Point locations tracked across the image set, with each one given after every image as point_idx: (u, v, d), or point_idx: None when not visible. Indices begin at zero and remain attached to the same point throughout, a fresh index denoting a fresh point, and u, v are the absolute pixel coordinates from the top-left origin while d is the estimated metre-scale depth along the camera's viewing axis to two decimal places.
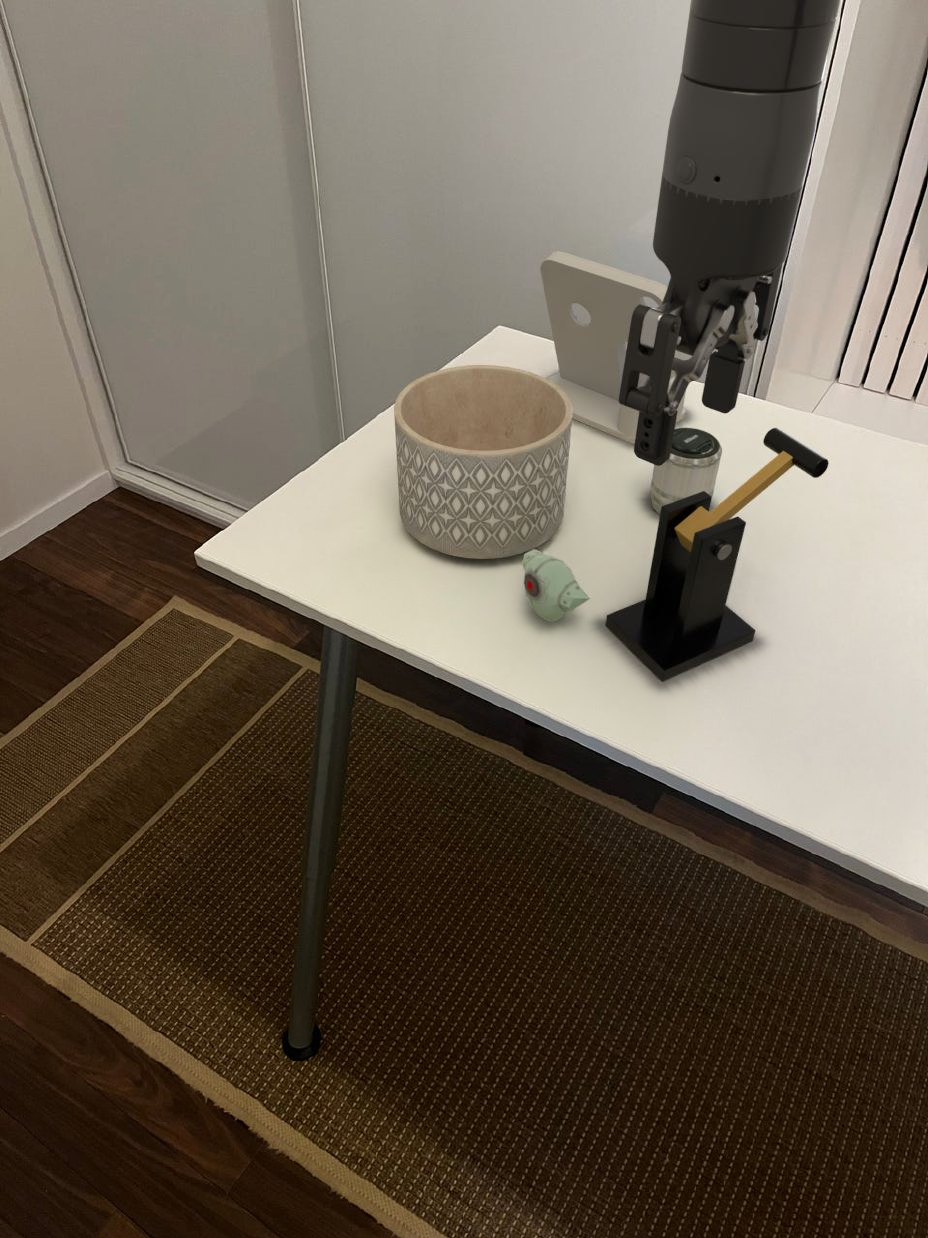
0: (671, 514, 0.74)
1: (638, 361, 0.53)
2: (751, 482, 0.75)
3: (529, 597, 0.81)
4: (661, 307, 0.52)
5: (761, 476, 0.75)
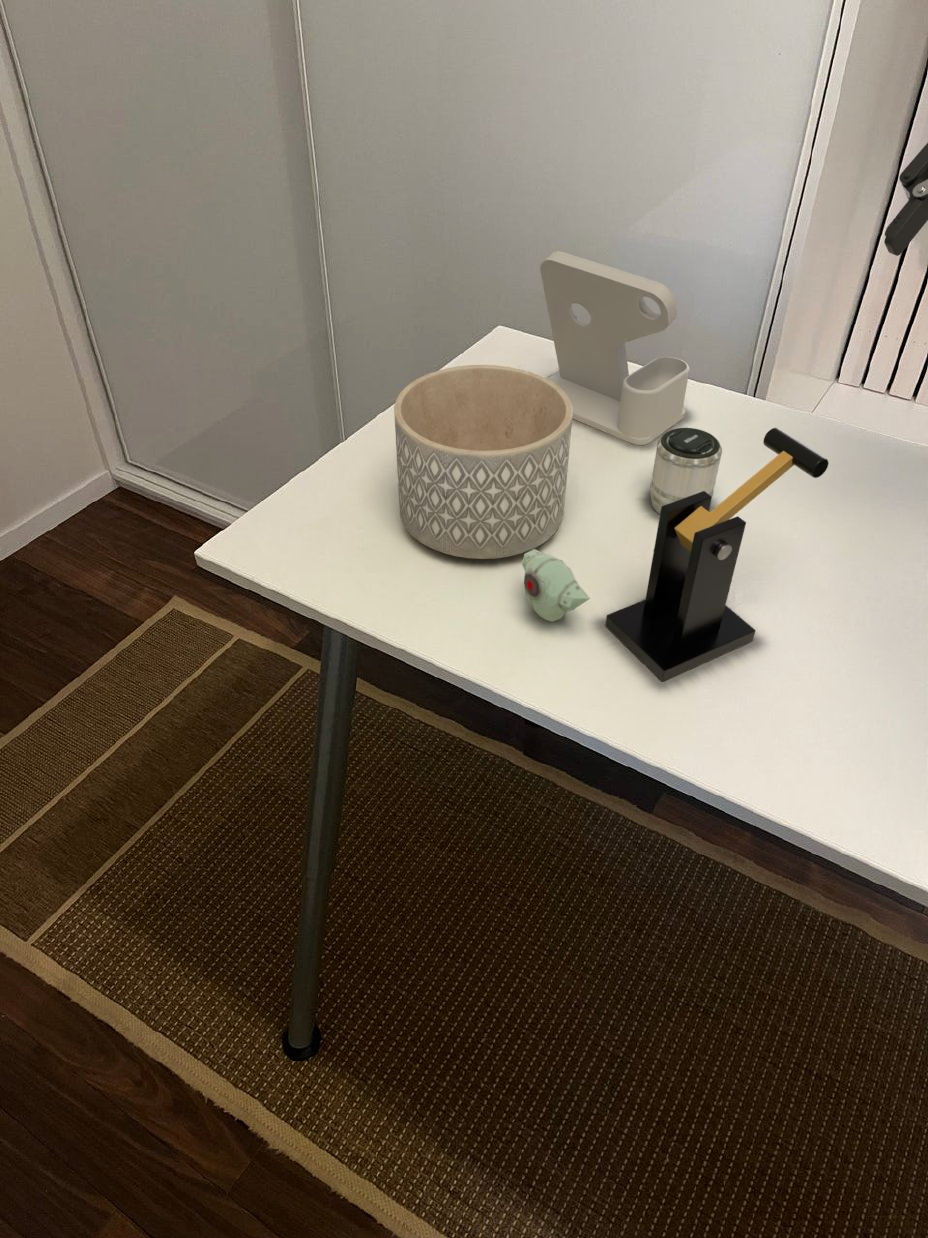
0: (671, 514, 0.74)
1: None
2: (751, 482, 0.75)
3: (529, 597, 0.81)
4: None
5: (761, 476, 0.75)
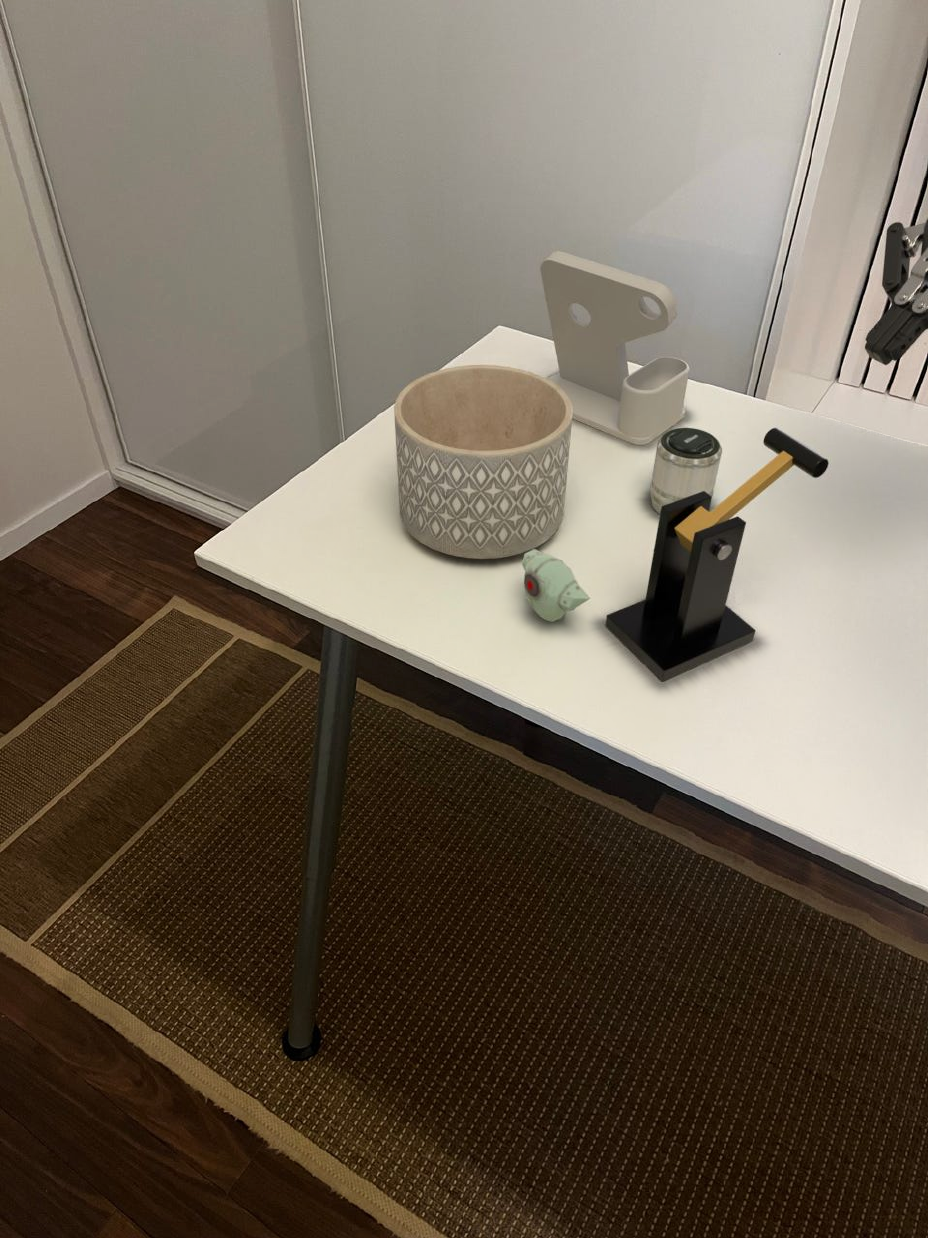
0: (671, 514, 0.74)
1: None
2: (751, 482, 0.75)
3: (529, 597, 0.81)
4: None
5: (761, 476, 0.75)
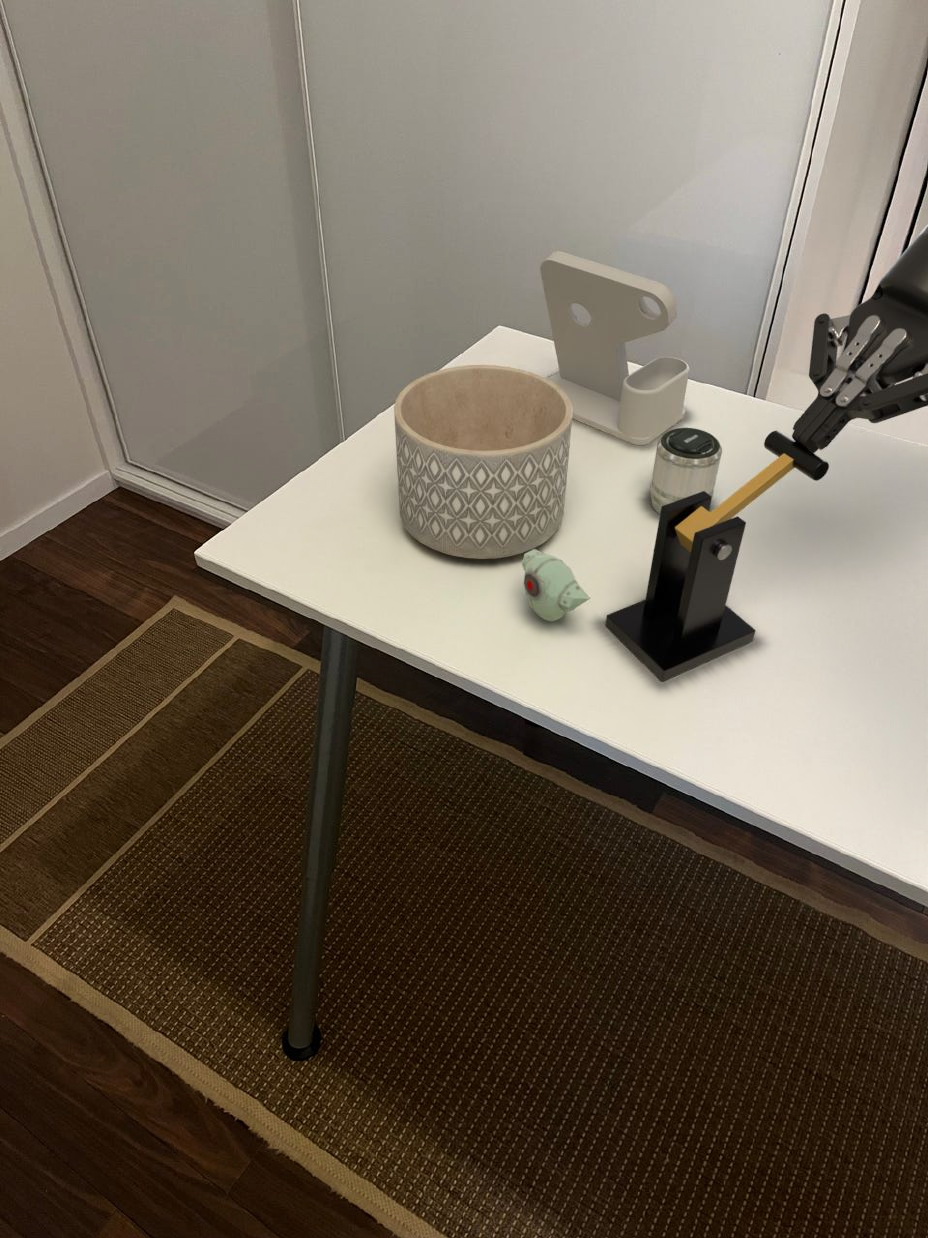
0: (671, 514, 0.74)
1: None
2: (752, 484, 0.75)
3: (529, 597, 0.81)
4: None
5: (762, 478, 0.75)
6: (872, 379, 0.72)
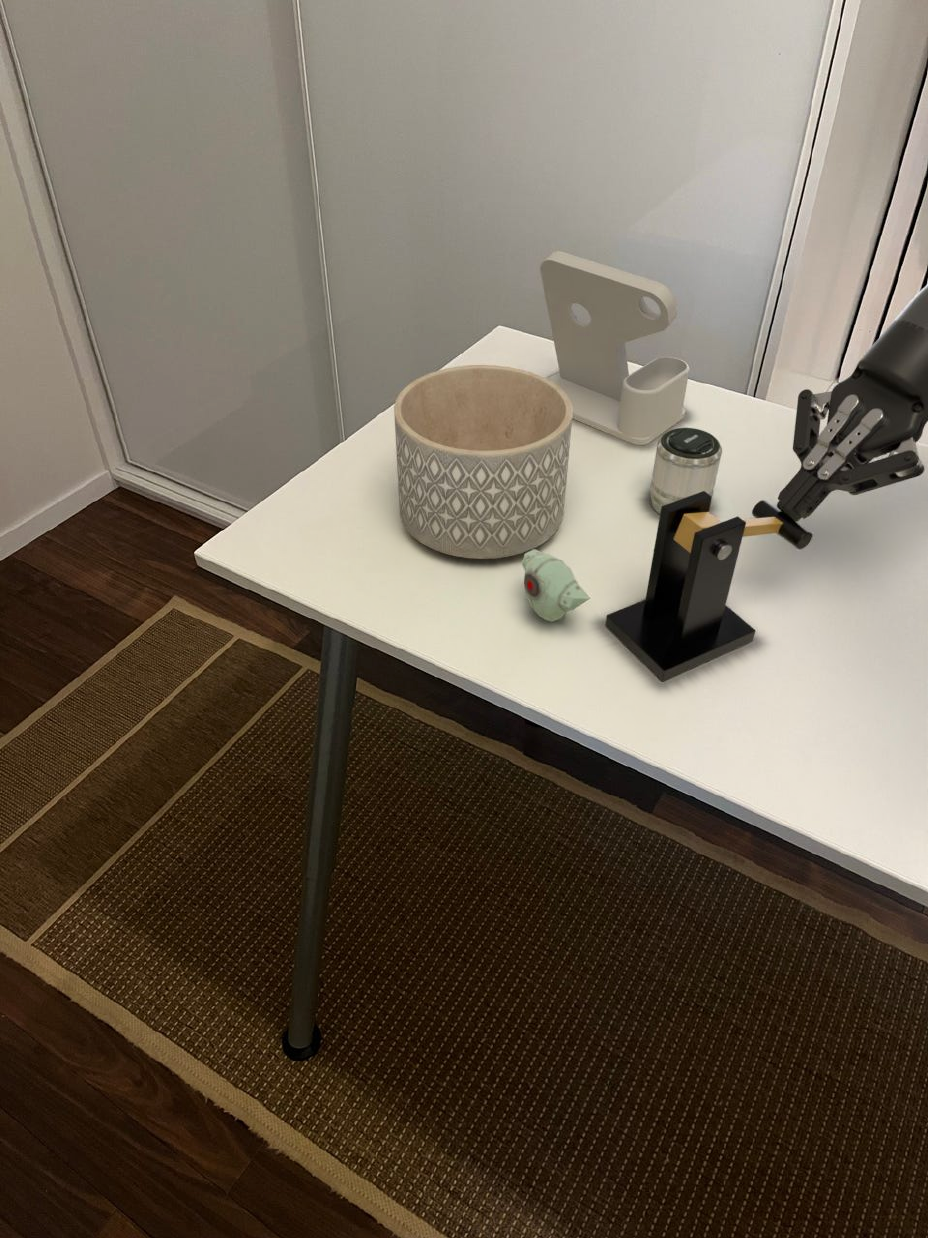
0: (671, 514, 0.74)
1: None
2: (748, 521, 0.78)
3: (529, 597, 0.81)
4: None
5: (757, 522, 0.78)
6: (851, 455, 0.76)
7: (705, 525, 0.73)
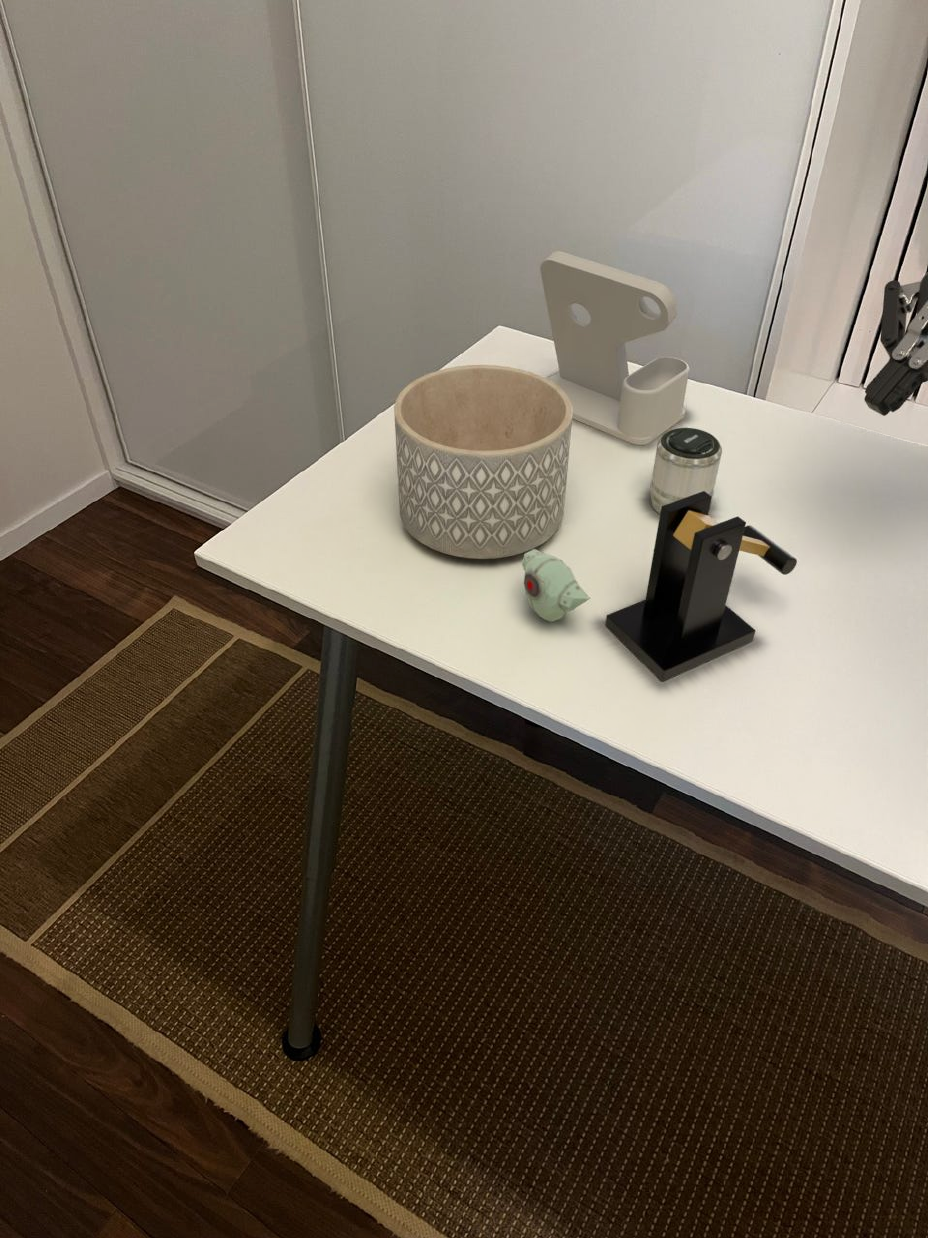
0: (671, 514, 0.74)
1: None
2: None
3: (529, 597, 0.81)
4: None
5: (748, 539, 0.79)
6: None
7: (709, 523, 0.73)
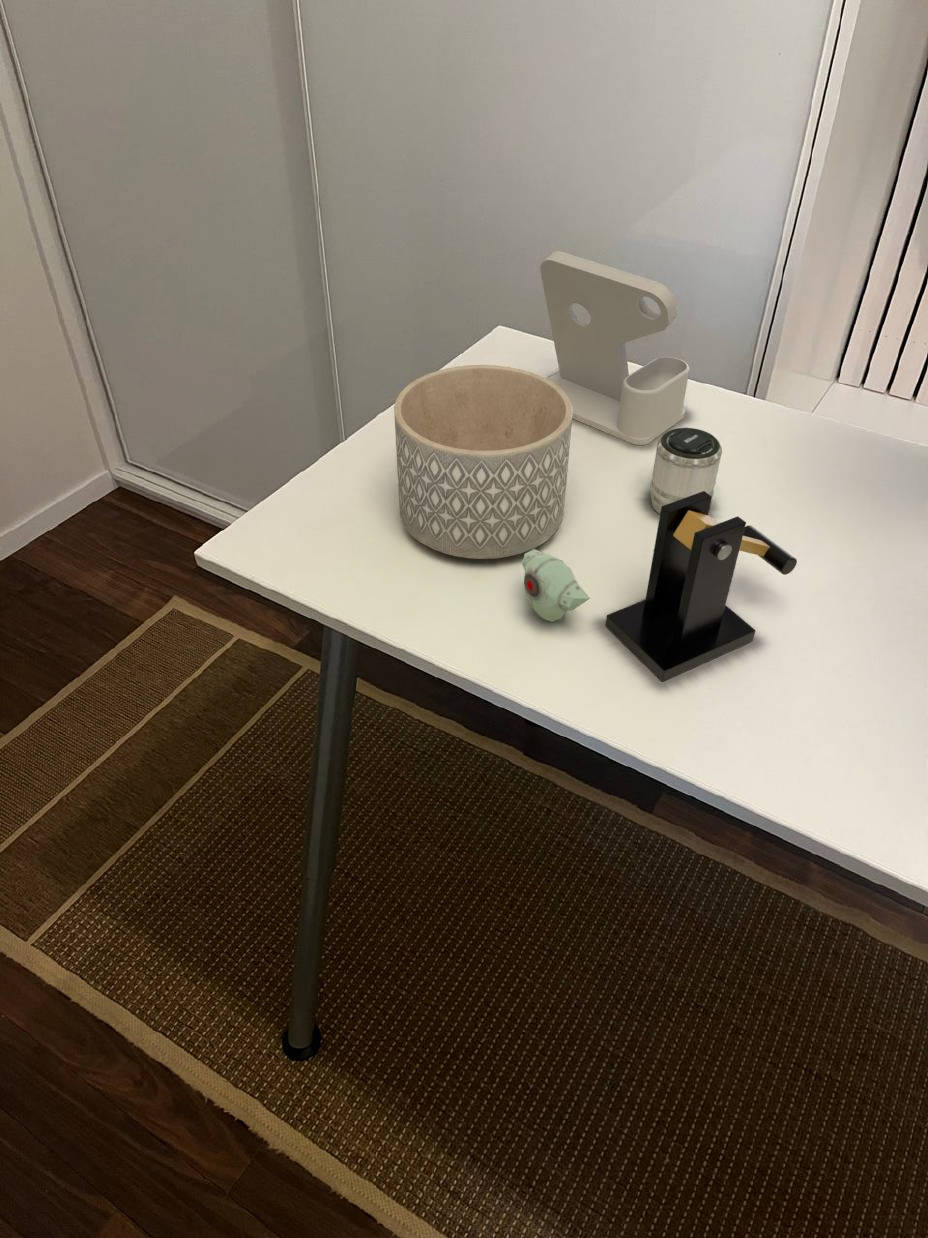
0: (671, 514, 0.74)
1: None
2: None
3: (529, 597, 0.81)
4: None
5: (748, 539, 0.79)
6: None
7: (709, 523, 0.73)
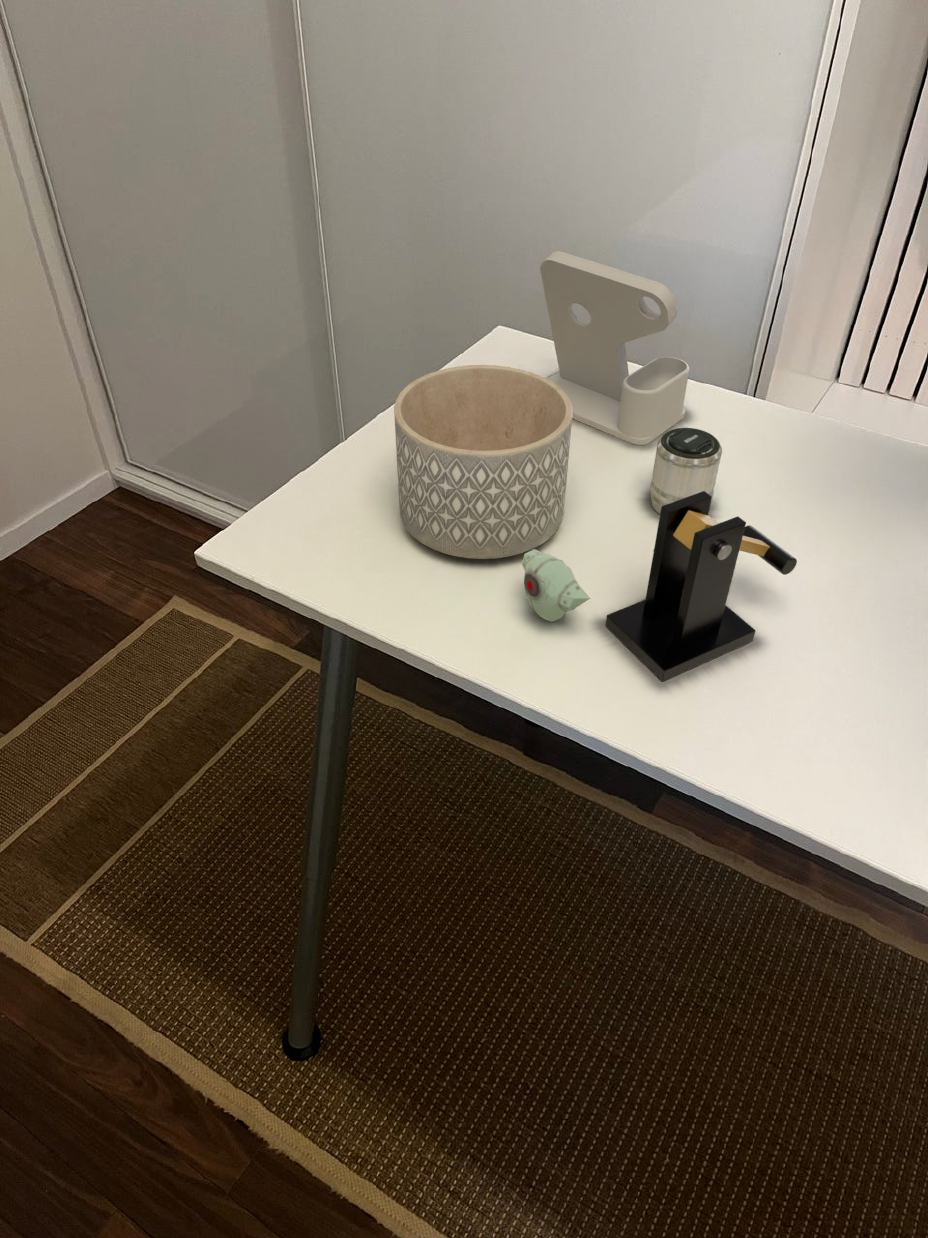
0: (671, 514, 0.74)
1: None
2: None
3: (529, 597, 0.81)
4: None
5: (748, 539, 0.79)
6: None
7: (709, 523, 0.73)
